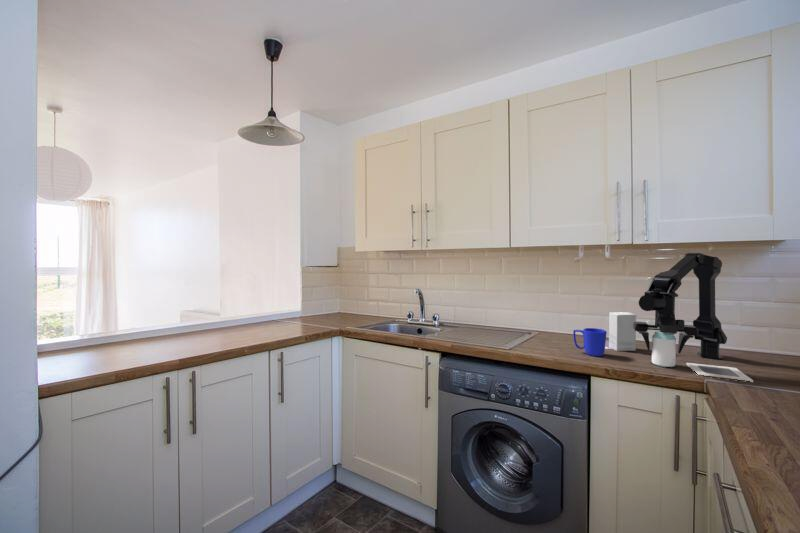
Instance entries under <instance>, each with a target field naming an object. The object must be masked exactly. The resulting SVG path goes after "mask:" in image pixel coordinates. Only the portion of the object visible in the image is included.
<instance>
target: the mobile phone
mask: <svg viewBox="0 0 800 533" xmlns="http://www.w3.org/2000/svg"><path fill="white" fill-rule="evenodd" d="M605 349H606V350H614V349H613V348H612V347H610V346H609V339H606V342H605Z"/></svg>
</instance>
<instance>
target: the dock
mask: <svg viewBox="0 0 800 533" xmlns="http://www.w3.org/2000/svg"><path fill="white" fill-rule="evenodd" d="M685 364H686V365H687V367H689V369H691V370H692V371H693V372H694V371H695V372H696V373H697V374H698V375H704V376H716V377H724V378H731V379H738V380H745V381H744V382H746V381H750V382H749V383H754V380H753V379H752V378H751V377H749V376H748V375H747V374H745V373H743V372H742V371H741V370H740V369H738V368H737V367H733V366H732V367H731V366H730V367H729V366H722V365H712V364H705V363H704V364H702V363H695V362H694V363H693V362H692V363H691V362H686V363H685ZM695 372H694V373H695ZM696 373H695V374H696ZM697 374H696V375H697ZM698 375H697V376H698Z"/></svg>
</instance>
